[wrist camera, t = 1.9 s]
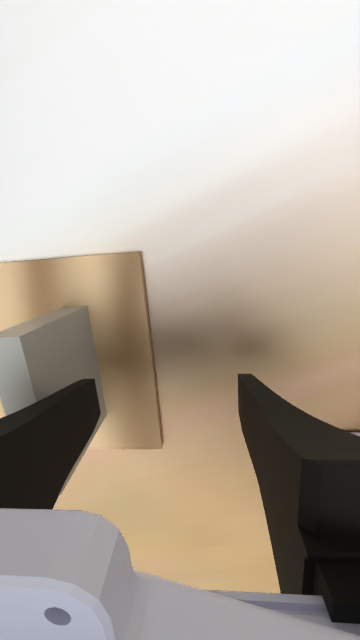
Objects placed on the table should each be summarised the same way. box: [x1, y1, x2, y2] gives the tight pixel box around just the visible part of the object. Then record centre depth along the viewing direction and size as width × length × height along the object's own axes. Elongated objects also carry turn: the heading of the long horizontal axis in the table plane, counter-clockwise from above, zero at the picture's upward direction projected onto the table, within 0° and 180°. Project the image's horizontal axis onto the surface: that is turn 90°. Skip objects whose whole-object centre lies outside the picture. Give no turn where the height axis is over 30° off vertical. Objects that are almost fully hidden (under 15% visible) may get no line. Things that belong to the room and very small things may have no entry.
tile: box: [0, 306, 107, 495], centre depth 14 cm, size 2×8×6 cm, turn 5°
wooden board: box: [0, 252, 163, 449], centre depth 17 cm, size 15×14×1 cm
